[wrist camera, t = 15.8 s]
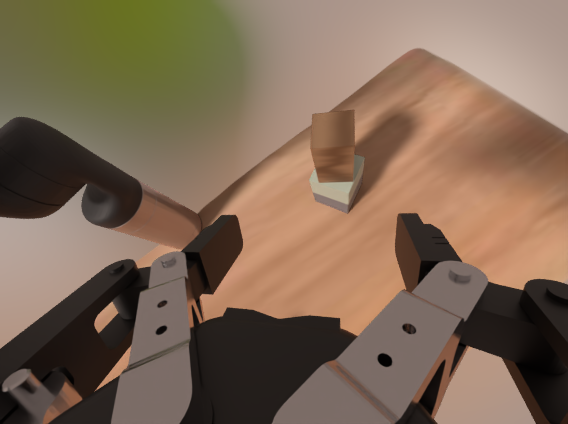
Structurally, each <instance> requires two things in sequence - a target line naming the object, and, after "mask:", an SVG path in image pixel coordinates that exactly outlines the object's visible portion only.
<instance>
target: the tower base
mask: <svg viewBox="0 0 568 424" xmlns="http://www.w3.org/2000/svg"><path fill="white" fill-rule="evenodd" d="M362 178H363V173H362V176H361V178H360V180H359V182H358V185H357V187H356V189H355V191H354V194H353V196H352V198H351V200H350V203H349V205H348V204H345V203H342V202H339V201H336V200H334V199H331V198H328V197H325V196H322V195H319V194H317V193H314V192H313V194H314V197H315V200H316V201H317V202H319V203H322V204H325V205H327V206H330V207H332V208H335V209H337V210H340V211H342V212H345V213H347V214H348V212H349V210H350V208H351V206H352V203H353V201H354V199H355V197H356V195H357V193H358V191H359V189H360V186H361V184H362Z"/></svg>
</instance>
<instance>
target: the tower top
mask: <svg viewBox="0 0 568 424" xmlns="http://www.w3.org/2000/svg"><path fill="white" fill-rule="evenodd" d="M364 160H365V157H362V156H359V155H355V154H354V171H353V182H331V183H319V181H318V177H317V173H316V169H314V171H313V173H312V175H311V177H310V179H309V182H310V185H311V188H312V191H313V192H314V193H317V194H319V195H322V196H325V197H328V198H331V199H334V200H336V201H339V202H342V203H345V204H348V205H349V203H350V200H351V198H352V196H353V194H354V191H355V189H356V187H357V185H358V182H359V180H360V178H361V176H362V173H363V169H364Z"/></svg>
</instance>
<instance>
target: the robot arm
mask: <svg viewBox="0 0 568 424" xmlns="http://www.w3.org/2000/svg"><path fill="white" fill-rule="evenodd" d="M85 184H87V186H86V189H85V192H84V194H83V198H82V212H83V215H84V216H85V218H86V219H87V220H88V221H89V222H91V223H92V224H95V225H98V226H101V227H105V228H108V229H111V230H115V231H118V232H121V233H125V234H129V235H132V236H135V237H139V238H142V239H146V240H149V241H152V242H156V243H159V244H162V245H166V246H169V247H173V248H176V249H183V250H182V251H181V252H171V253H167V254H165V255H162V256H161V257H159V258H157V259H156V260H155V261H154V262H153V263H152V265H151V267H145V268H139V269H138V268H137V265H136V263H135V262H134V261H133V260H131V259H126V260H121V261H118V262H115V263H113V264H111V265H109V266H107V267H106V268H104V269H103V270H102V271H100V272H99V273H98V274H96V275H95V276H94V277H93V278H91V279H90V280H89V281H87V282H86V283H85V284H83V285H82V286H81V287H80V288H78V289H77V290H76V291H74V292H73V293H72V294H71V295H69V296H68V297H67V298H65V299H64V300H63V301H61V302H60V303H59V304H58V305H56V306H55V307H54V308H52V309H51V310H50V311H49V312H48V313H46V314H45V315H43V316H42V317H41V318H39V319H38V320H37V321H36V322H34V323H33V324H32V325H30V326H29V327H28V328H27V329H25V330H24V331H23V332H21V333H20V334H19V335H17V336H16V337H15V338H14V339H12V340H11V341H10V342H9V343H7V344H6V345H5V346H3V347H2V348H1V349H0V424H437V422H436V421H435V420H434V418H435V416H436V414H437V411H438V409H439V407H440V405H441V402H442V400H443V397H444V394H445V392H446V390H447V387H448V385H449V383H450V381H451V380H452V378H453V376H454V374H455V372H456V370H457V368H458V366H459V364H460V362H461V361H462V359H463V357H464V355H465V353H466V351H467V349H468V347H469V346H470V347H473V348H476V349H479V350H482V351H484V352H487V353H490V354H493V355H496V356H499V357H501V358H502V359H503V361H504V363H505V365H506V367H507V369H508V370H509V372H510V374H511V376H512V378H513V380H514V382H515V384H516V386H517V388H518V390H519V392H520V394H521V395H522V398H523V399H524V401H525V403H526V405H527V407H528V409H529V411H530V413H531V415H532V416H533V419H534V421H535V422H536V424H568V285H567V284H564V283H561V282H557V281H553V280H546V279H534V280H530V281H528V282H527V283H526V284H525V287H524V289H523V290H519V289H515V288H511V287H506V286H502V285H498V284H494V283H491V282H488V278H487V276H486V275H485V274H484V273H483V272H482V271H481V270H479V269H478V268H476V267H474V266H472V265H469V264H466V263H463V262H462V261H461V259H460V258H459V256H458V255H457V253H456V252H455V250H454V249H453V248H452V246H451V245H450V244H449V242H448V240H447V239H446V238H445V236H444V235H443V233H442V232H441V230H439V229H438V228H436V227H435V226H433V225H431V224H423V222H422V221H421V219H420V217H419V216H418V214H417V213H402V214H398V217H397V227H396V239H395V253H396V257H397V261H398V264H399V267H400V270H401V273H402V277H403V280H404V283H405V286H406V290H405V289H404V290H402V291H400V292H399V293H398V294H397V295H396V296H395V298H394V299H393V300H392V301H391V302H390V303H389V304H388V305H387V306H386V307H385V308H384V309H383V310H382V311H381V312H380V313H379V315H378V316H377V317H376V318H375V319H374V320H373V321H372V322H371V323H370V324H369V325H368V326H367V327H366V328H365V329H364V330H363V332H362V333H361V334H360V335H359V336H356V335H354V334H353V333H350V332H348V331H346V330H343V329H341V328H340V318H331V317H321V316H310V315H309V316H301V317H292V318H284V319H277V318H274V317H271V316H268V315H265V314H263V313H260V312H257V311H254V310H248V309H238V308H228V307H227V309H226V311H225V313H224V315H223V316H222V317H217V318H213V319H210V320H207V321H205V318H204V312H203V306H202V301H201V299H200V296H201V295H202V294H212V295H213V294H214V292H215V290H216V289H217V287H218V286H219V284H220V283H221V281H222V280H223V278H224V277H225V275H226V274H227V272H228V271H229V269H230V268H231V266H232V265H233V263H234V262H235V260H236V259H237V257H238V255H239V254H240V252H241V251H242V248H243V239H242V234H241V230H240V226H239V221H238V218H237V216H236V215H221V216H220V217H219V218H218V219H217V220H216V221H215V222H214V223H213V224H212V225H210V226H208V227H206V228H205V229H204V230H202V231H201V226H202V225H201V220H200V217H199V216H198V215H197V214H196V213H195V212H193V211H192V210H190V209H188V208H186V207H185V206H183V205H181V204H179V203H178V202H176V201H174V200H172V199H171V198H169V197H167V196H165V195H163V194H162V193H160V192H158V191H156V190H154V189H153V188H151V187H149V186H148V185H145V184H144V183H142V182H140V181H139V180H137V179H135V178H133V177H132V176H130V175H128V174H126V173H125V172H123V171H122V170H120V169H119V168H117V167H115V166H114V165H112V164H110V163H109V162H107V161H105V160H104V159H102V158H100V157H99V156H97V155H95V154H93V153H92V152H91V151H89V150H88V149H86V148H84V147H83V146H81V145H80V144H78V143H77V142H75V141H74V140H72V139H71V138H69V137H68V136H66V135H64V134H63V133H61V132H59V131H58V130H56V129H54V128H52V127H50V126H48V125H46V124H45V123H42V122H40V121H37V120H34V119H31V118H26V117H16V118H14V119H12V120H10V121H9V122H8V123H7V124H5V125H4V126H3V127H2V128H1V129H0V217H7V218H20V219H35V218H42V217H46V216H49V215H51V214H53V213H54V212H56V211H57V210H59V209H60V208H61V207H62V206H64V205H65V203H66V202H68V200H70V198H72V197H73V196H74V195H75V194H76V193H77V192H78V191H79V190H80V189H81V188H82V187H83V186H84V185H85ZM111 302H113V304H114V305H115V307H116V309H117V311H118V312H119V313H118V314H117V315H116V316H115V317H114V318H113V319H112V320H111V321H110V322H109V324H108V325H107V326H106V327H105V328H104V329H103V330H102V331H101V332H100V333H99V334H98V332H97V330H96V329H95V326H94V322H95V319H96V317H97V315H98V314H99V313H100V312H101V311H102V310H103V309H104V308H105V307H106V306H107V305H109V304H110V303H111ZM131 344H132V346H131ZM130 346H131V352H130V358H129V364H128V366H127V368H126V369H124V370H123V371H122V373H121V375H119V376H118V377H116V378H115V379H113V380H112V381H110V382H109V383H107V384H106V385H104V386H103V387H101V388H100V389H98V390H96V389H97V387H98V386H99V385H100V384H101V382H102V381H103V380H104V379H105V377H106V376H107V375H108V374H109V372H110V371H111V370H112V368H113V367H114V366H115V365H116V363H117V362H118V361H119V360H120V358H121V357H122V356H123V355H124V353H125V352H126V351H127V349H128V348H129V347H130ZM95 390H96V391H95ZM94 391H95V392H94Z"/></svg>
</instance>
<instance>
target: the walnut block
mask: <svg viewBox="0 0 568 424" xmlns="http://www.w3.org/2000/svg"><path fill="white" fill-rule="evenodd" d="M310 149H311V153H312V157H313V161H314V165H315V169H316V173H317V177H318V181H319V183H331V182H353V171H354V150H355V126H354V110H347V111H337V112H328V113H319V114H313V115H312V131H311V148H310Z"/></svg>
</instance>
